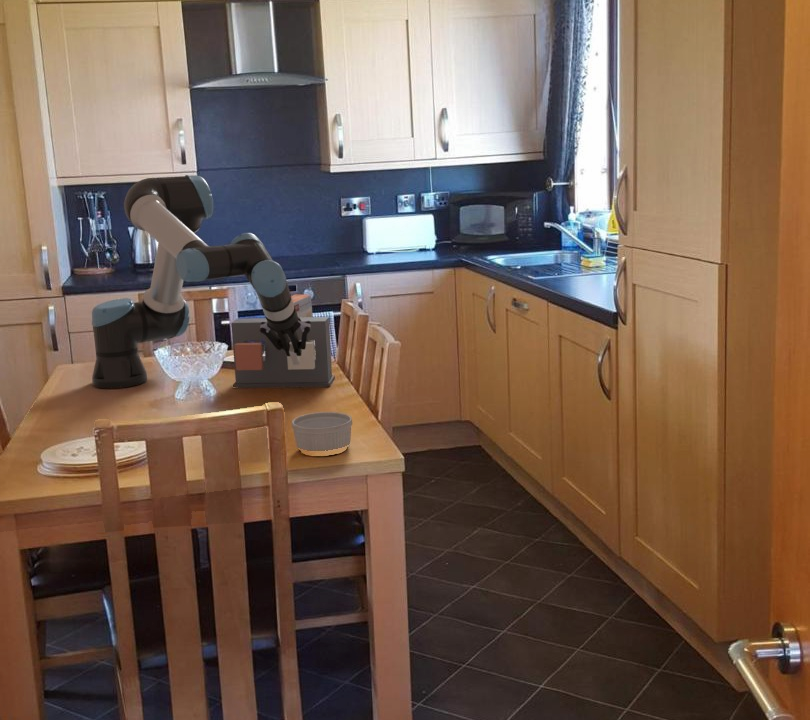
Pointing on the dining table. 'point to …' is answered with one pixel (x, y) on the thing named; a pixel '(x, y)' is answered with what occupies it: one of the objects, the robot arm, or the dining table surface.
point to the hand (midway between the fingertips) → (296, 360)
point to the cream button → (304, 358)
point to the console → (284, 357)
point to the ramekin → (322, 431)
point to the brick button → (249, 355)
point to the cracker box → (303, 306)
